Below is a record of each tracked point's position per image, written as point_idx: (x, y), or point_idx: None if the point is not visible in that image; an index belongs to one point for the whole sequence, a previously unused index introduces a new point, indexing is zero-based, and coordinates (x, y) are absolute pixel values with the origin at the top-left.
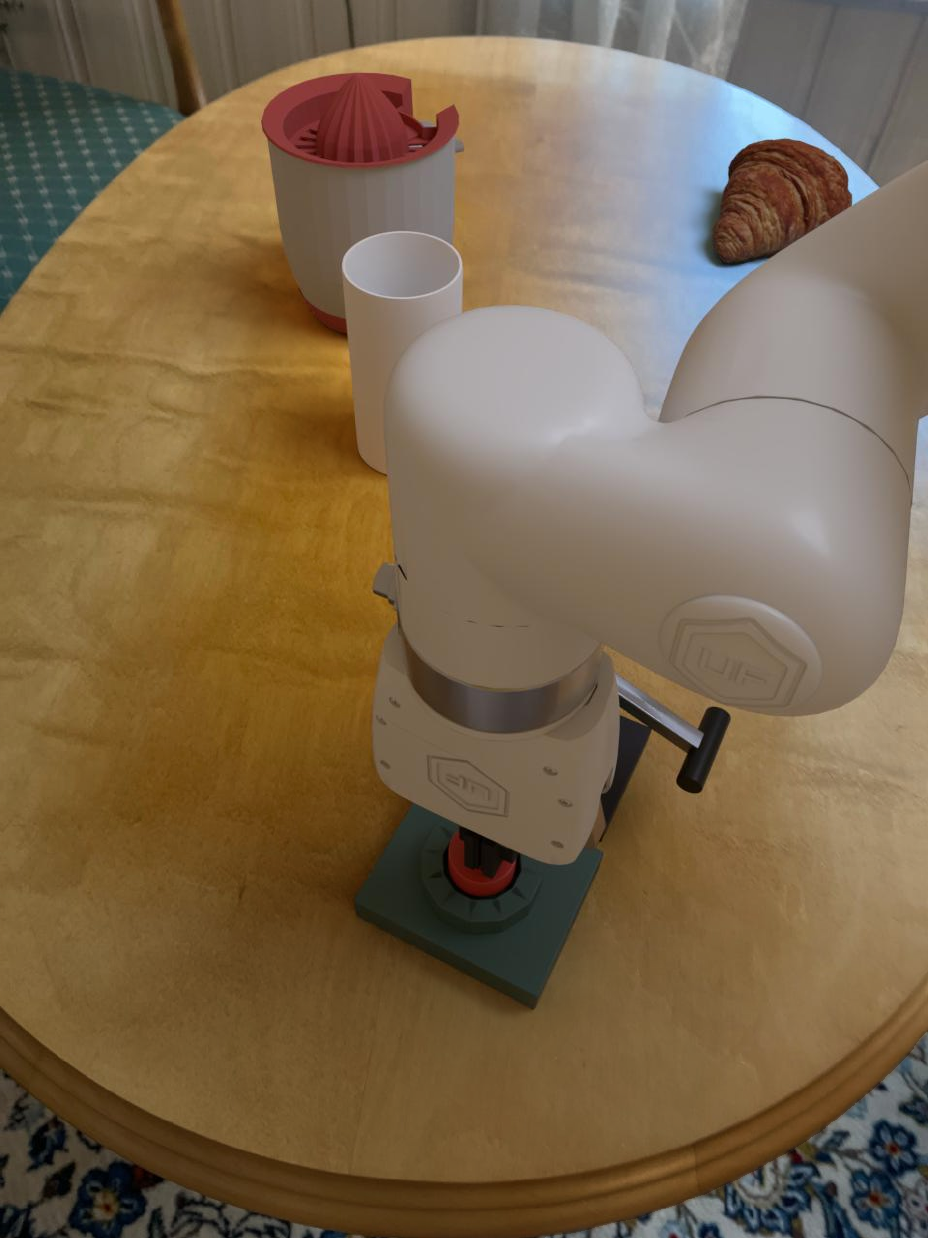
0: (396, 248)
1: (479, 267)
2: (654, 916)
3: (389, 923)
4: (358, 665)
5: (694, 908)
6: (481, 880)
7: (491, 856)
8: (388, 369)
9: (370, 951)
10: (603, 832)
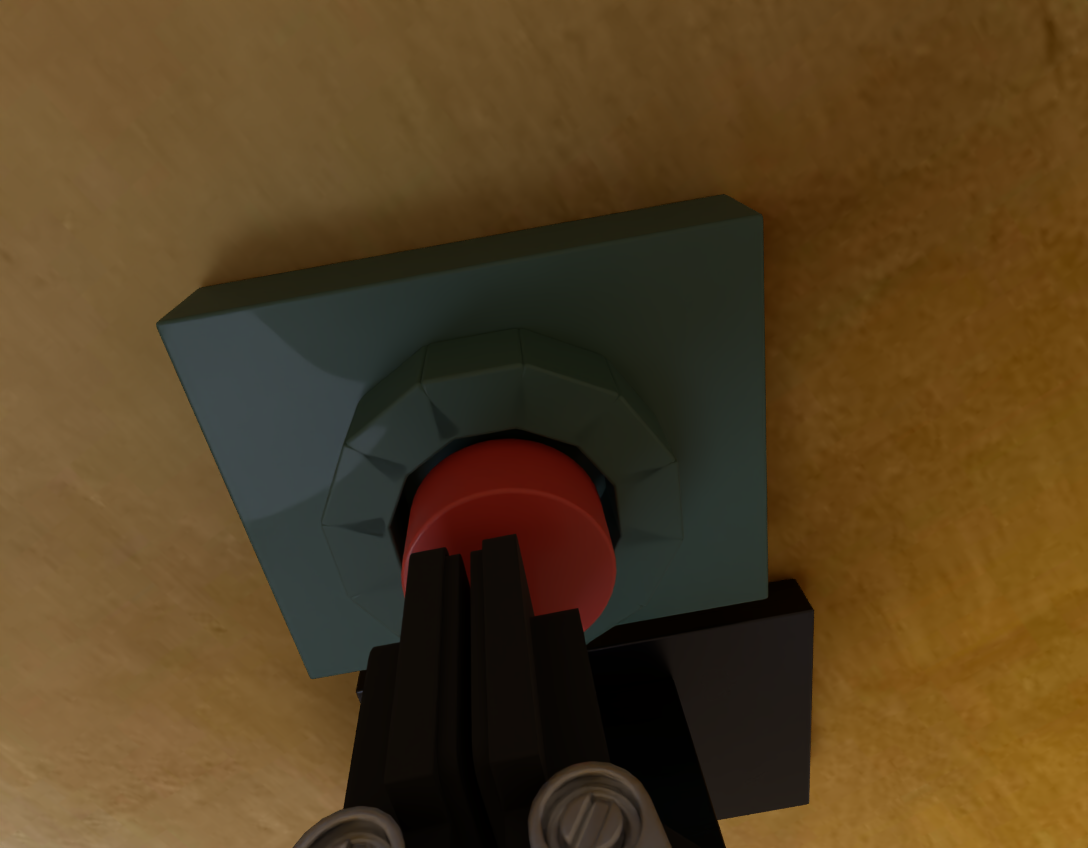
0: None
1: None
2: (165, 605)
3: (633, 230)
4: (1030, 644)
5: (120, 660)
6: (451, 517)
7: (400, 698)
8: None
9: (636, 140)
10: (357, 690)
